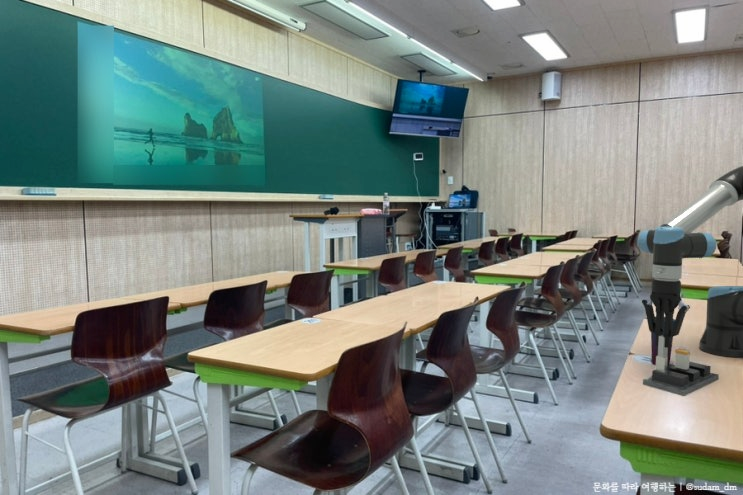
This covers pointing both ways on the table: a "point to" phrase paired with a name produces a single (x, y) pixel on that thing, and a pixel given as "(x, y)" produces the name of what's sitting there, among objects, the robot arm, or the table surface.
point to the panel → (678, 389)
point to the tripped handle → (682, 359)
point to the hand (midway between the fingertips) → (662, 357)
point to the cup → (655, 347)
